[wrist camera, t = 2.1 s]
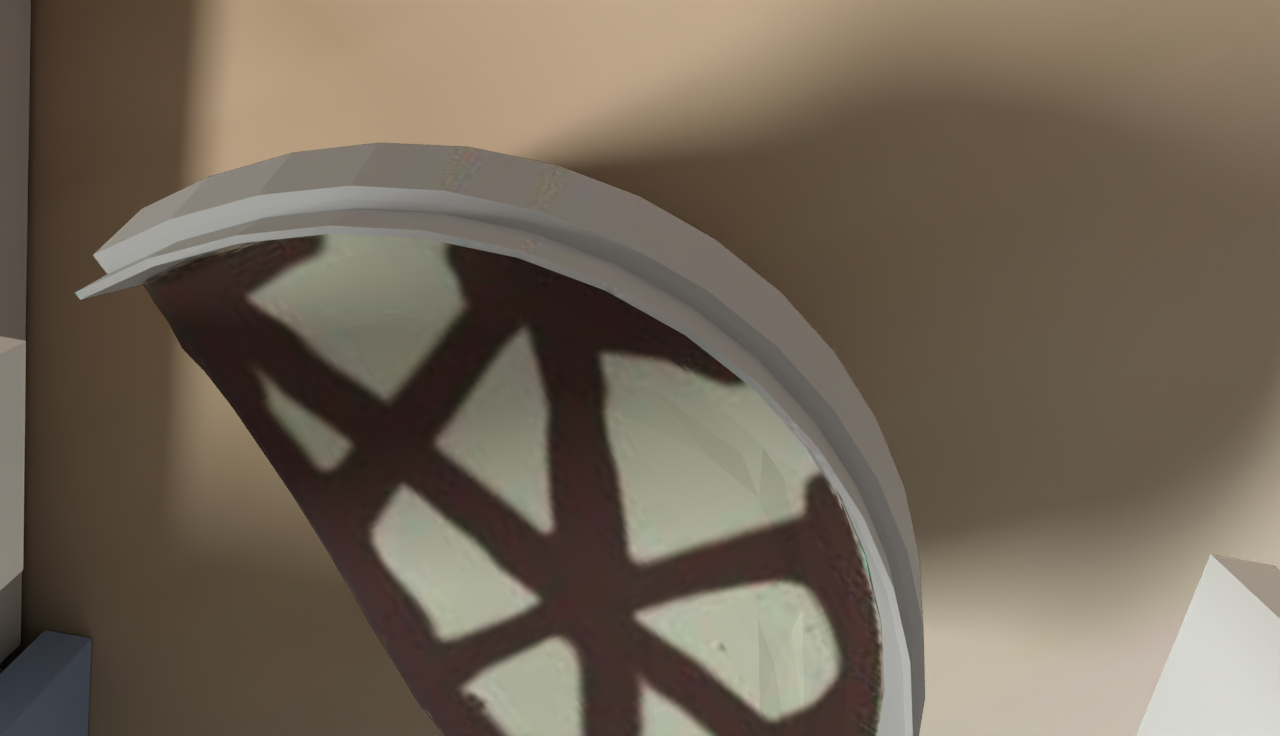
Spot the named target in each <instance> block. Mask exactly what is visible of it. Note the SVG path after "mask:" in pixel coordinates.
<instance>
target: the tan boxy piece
mask: <svg viewBox="0 0 1280 736" xmlns="http://www.w3.org/2000/svg"><path fill="white" fill-rule="evenodd" d="M30 30H31V0H0V336H2V337H7V338H13V339H18V340H24V341H25V339H26V277H27V216H28V154H29V92H30ZM21 587H22V571H21V572H20V573H19V574H18V575H17V576H16V577H15V578H14V579H12V580H11V581H10V582H9V583H8V584H7V585H6V586H5V587H4V588H2V589H1V590H0V663H1V662H2V661H3V660H4V659H5V658H7V657H8V656H9V655H10V654H11V653H12V652H13V651H14V650H15V649H16V648H17V647H18V646H19V645H20V644H21Z"/></svg>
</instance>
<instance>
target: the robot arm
mask: <svg viewBox="0 0 1280 736" xmlns="http://www.w3.org/2000/svg"><path fill="white" fill-rule="evenodd" d="M25 385H26V341H24V340H18V339H13V338H7V337H2V336H0V590H1V589H2V588H4V587H5V586H6V585H7V584H8V583H9V582H10V581H11V580H12V579H14V578H15V577H16V576H17V575H18V574H19V573H20V572H21V571H23V554H24V470H25ZM1136 736H1280V570H1279V569H1278V568H1277V567H1276V566H1273V565H1268V564H1262V563H1256V562H1251V561H1245V560H1240V559H1234V558H1229V557H1223V556H1218V555H1212V554H1211V555H1210V557H1209V560H1208V562H1207V564H1206V567H1205V569H1204V572H1203V574H1202V577H1201V579H1200V582H1199V584H1198V586H1197V589H1196V591H1195V594H1194V596H1193V599H1192V601H1191V603H1190V606H1189V608H1188V611H1187V613H1186V616H1185V618H1184V621H1183V623H1182V625H1181V628H1180V630H1179V633H1178V635H1177V638H1176V640H1175V642H1174V645H1173V647H1172V650H1171V652H1170V655H1169V657H1168V660H1167V662H1166V664H1165V667H1164V669H1163V672H1162V674H1161V677H1160V679H1159V681H1158V684H1157V686H1156V689H1155V691H1154V694H1153V696H1152V699H1151V701H1150V703H1149V706H1148V708H1147V711H1146V713H1145V716H1144V718H1143V720H1142V723H1141V725H1140V728H1139V730H1138V733H1137V735H1136Z"/></svg>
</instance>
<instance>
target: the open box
mask: <svg viewBox="0 0 1280 736" xmlns="http://www.w3.org/2000/svg"><path fill="white" fill-rule="evenodd" d="M91 647H92V638H87V637H82V636H76V635H70V634H64V633H59V632H53V631H47V630H45V631H44V632H43V633H41V634H40V635H39V636H38V637H37V638H36V639H35V640H34V641H33V642H32V643H31V644H30V645H29V646H28V647H27V648H26V649H25V650H24V651H23V652H22V653H21V654H20V655H19V656H18V657H17V658H16V659H15V660H14V661H13V662H12V663H11V664H10V665H9V666H8V667H7V668H6V669H5V670H4V671H3V672H2V673H1V674H0V736H88V722H89V697H90V672H91Z"/></svg>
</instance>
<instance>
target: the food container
mask: <svg viewBox="0 0 1280 736" xmlns="http://www.w3.org/2000/svg"><path fill="white" fill-rule="evenodd" d="M93 256H94V257H95V259H96V260H97V261H98V263H99V264H100V265H101V267H102V268H103V269H104V270H105V272H106V273H107V275H105V276H103V277H102V278H100V279H98V280H96V281H95V282H93V283H91V284H89V285H88V286H86V287H84V288H82V289H80V290H79V291H77V292H75V294H76V295H77V296H78V298H79V299H80V300H82V299H86V298H90V297H94V296H98V295H102V294H106V293H110V292H114V291H118V290H122V289H126V288H130V287H134V286H138V285H142V284H143V285H144V286H145V288H146V290H147V291H148V293H149V294H150V296H151V298H152V299H153V301H154V303H155V304H156V305H157V307H158V308H159V310H160V311H161V312H162V314H163V315H164V316H165V318H166V319H167V321H168V322H169V324H170V326H171V328H172V330H173V332H174V334H175V335H176V337H177V339H178V341H179V343H180V345H181V347H182V348H183V349H184V350H185V352H186V353H187V354H188V355H189V356H190V357H191V358H192V359H193V360H194V361H195V362H196V363H197V364H198V365H199V366H200V367H201V368H202V369H203V370H204V371H205V372H206V374H207V375H208V376H209V377H210V379H211V380H212V381H213V383H214V384H215V385H216V387H217V388H218V389H219V390H220V392H221V393H222V394H223V396H224V397H225V398H226V399H227V401H228V402H229V403H230V405H231V406H232V407H233V409H234V410H235V411H236V413H237V414H238V416H239V417H240V419H241V420H242V422H243V423H244V425H245V426H246V428H247V429H248V430H249V432H250V433H251V435H252V436H253V438H254V439H255V441H256V442H257V444H258V445H259V447H260V448H261V450H262V451H263V453H264V454H265V455H266V457H267V458H268V460H269V461H270V463H271V464H272V466H273V467H274V469H275V470H276V472H277V473H278V475H279V476H280V478H281V479H282V480H283V482H284V483H285V485H286V486H287V488H288V489H289V491H290V492H291V494H292V495H293V497H294V498H295V500H296V502H297V503H298V505H299V506H300V508H301V510H302V511H303V513H304V514H305V516H306V518H307V519H308V521H309V522H310V524H311V526H312V527H313V529H314V530H315V532H316V534H317V535H318V537H319V538H320V540H321V541H322V543H323V545H324V546H325V548H326V549H327V551H328V553H329V554H330V556H331V558H332V559H333V561H334V563H335V565H336V566H337V568H338V570H339V571H340V573H341V575H342V577H343V578H344V580H345V582H346V584H347V585H348V587H349V589H350V590H351V592H352V594H353V596H354V597H355V599H356V601H357V603H358V604H359V606H360V608H361V610H362V611H363V613H364V615H365V616H366V618H367V620H368V622H369V623H370V625H371V627H372V629H373V630H374V632H375V634H376V635H377V637H378V638H379V640H380V642H381V643H382V645H383V646H384V648H385V650H386V651H387V653H388V654H389V656H390V658H391V659H392V661H393V662H394V664H395V666H396V667H397V669H398V671H399V672H400V674H401V675H402V677H403V679H404V680H405V682H406V684H407V686H408V688H409V689H410V691H411V692H412V694H413V695H414V697H415V698H416V700H417V701H418V703H419V704H420V706H421V707H422V708H423V709H424V710H425V712H426V713H427V714H428V715H429V717H430V718H431V719H432V720H433V722H434V723H435V724H436V725H437V727H438V728H439V729H440V730H441V732H442V733H443V734H444V735H445V736H919V731H920V725H921V719H922V713H923V707H924V700H925V676H924V634H923V611H922V592H921V574H920V557H919V553H918V548H917V543H916V539H915V534H914V529H913V524H912V520H911V515H910V510H909V506H908V501H907V496H906V491H905V487H904V485H903V483H902V480H901V478H900V475H899V473H898V470H897V468H896V465H895V463H894V460H893V458H892V456H891V453H890V451H889V448H888V446H887V443H886V441H885V438H884V436H883V433H882V431H881V429H880V426H879V424H878V421H877V419H876V417H875V416H874V414H873V412H872V411H871V409H870V408H869V406H868V404H867V403H866V401H865V400H864V398H863V396H862V395H861V393H860V392H859V390H858V389H857V387H856V385H855V384H854V382H853V381H852V379H851V377H850V376H849V374H848V373H847V371H846V369H845V368H844V366H843V365H842V363H841V361H840V360H839V358H838V357H837V355H836V353H835V352H834V351H833V350H832V349H831V348H830V347H829V345H828V344H827V343H826V342H825V341H824V340H823V339H822V338H821V337H820V335H819V334H818V333H817V332H816V331H815V330H814V329H813V328H812V326H811V325H810V324H809V323H808V322H807V321H806V320H805V319H804V317H803V316H802V315H801V314H800V313H799V312H798V311H797V310H796V309H795V307H794V306H793V305H792V304H791V303H790V302H789V301H788V300H787V298H786V297H785V296H784V295H783V294H782V293H781V292H780V291H779V290H778V289H776V288H775V287H774V286H773V285H771V284H770V283H769V282H768V281H766V280H765V279H764V278H763V277H761V276H760V275H759V274H758V273H756V272H755V271H754V270H753V269H751V268H750V267H749V266H748V265H747V264H745V263H744V262H743V261H742V260H740V259H739V258H738V257H737V256H735V255H734V254H733V253H732V252H730V251H729V250H728V249H727V248H725V247H724V246H723V245H722V244H720V243H719V242H718V241H717V240H715V239H714V238H712V237H710V236H709V235H707V234H705V233H703V232H702V231H700V230H698V229H696V228H695V227H693V226H691V225H689V224H687V223H686V222H684V221H682V220H680V219H679V218H677V217H675V216H673V215H672V214H670V213H668V212H666V211H665V210H663V209H661V208H659V207H658V206H656V205H654V204H652V203H651V202H649V201H647V200H645V199H644V198H642V197H640V196H638V195H635V194H632V193H630V192H627V191H624V190H622V189H619V188H616V187H614V186H611V185H609V184H606V183H603V182H601V181H598V180H595V179H593V178H590V177H587V176H585V175H582V174H579V173H577V172H574V171H571V170H569V169H566V168H563V167H561V166H558V165H555V164H550V163H545V162H540V161H535V160H530V159H526V158H521V157H516V156H511V155H506V154H501V153H497V152H492V151H487V150H482V149H477V148H472V147H464V146H442V145H420V144H399V143H372V144H363V145H354V146H345V147H337V148H328V149H319V150H311V151H302V152H293V153H289V154H285V155H282V156H279V157H275V158H272V159H268V160H265V161H261V162H258V163H254V164H251V165H247V166H244V167H240V168H237V169H233V170H230V171H226V172H223V173H219V174H216V175H212V176H209V177H207V178H205V179H203V180H201V181H199V182H196V183H194V184H192V185H190V186H188V187H186V188H184V189H182V190H180V191H178V192H176V193H174V194H171V195H169V196H167V197H165V198H163V199H161V200H159V201H157V202H155V203H153V204H151V205H149V206H146V207H144V208H142V209H141V210H140V211H139V212H138V213H137V214H136V215H135V216H134V217H132V218H131V219H130V220H129V221H128V222H127V223H126V224H125V225H124V226H123V227H122V228H121V229H120V230H119V231H118V232H117V233H116V234H115V235H113V236H112V237H111V238H110V239H109V240H108V241H107V242H106V243H105V244H104V245H103V246H102V247H101V248H100V249H99V250H98V251H97V252H96V253H94V254H93Z"/></svg>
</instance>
